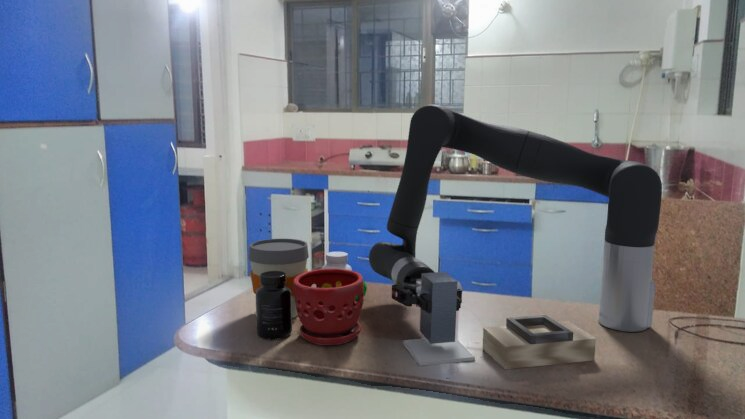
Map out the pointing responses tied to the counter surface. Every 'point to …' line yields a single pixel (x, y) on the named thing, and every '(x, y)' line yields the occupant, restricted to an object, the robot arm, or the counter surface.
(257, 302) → the supplement bottle
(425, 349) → the rubber mat
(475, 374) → the counter surface
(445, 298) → the brushed metal block
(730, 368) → the counter surface
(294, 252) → the reusable coffee cup
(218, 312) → the counter surface
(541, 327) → the tan piece
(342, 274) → the plant pot
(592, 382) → the counter surface
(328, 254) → the supplement bottle
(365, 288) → the polyhedron
